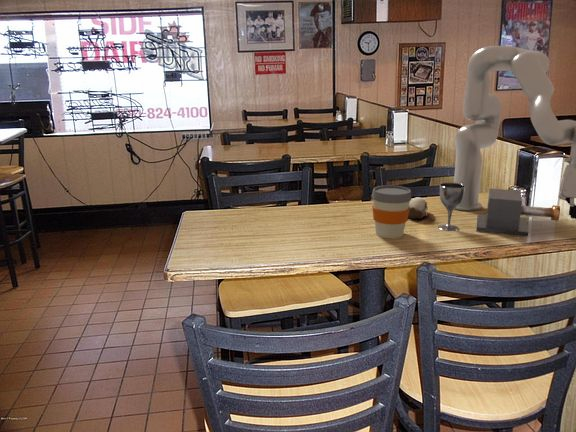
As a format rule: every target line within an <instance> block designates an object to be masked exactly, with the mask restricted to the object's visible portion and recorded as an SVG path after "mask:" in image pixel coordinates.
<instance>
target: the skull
mask: <svg viewBox="0 0 576 432" xmlns="http://www.w3.org/2000/svg"><path fill="white" fill-rule="evenodd" d="M409 207H410V209H409V214H408V219H407V221H408V220H411V221H414V222H419V223H428V222H433V220H435V219H436V216H435V215H434V214H433V213H431V212H427V211H428V208H429V207H428V202H427V200H426V199H424V198H422V197H420V196H418V197H417V196H416V197H414V198H411V200H410V202H409Z"/></svg>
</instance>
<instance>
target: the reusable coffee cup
mask: <svg viewBox="0 0 576 432" xmlns="http://www.w3.org/2000/svg"><path fill="white" fill-rule="evenodd" d="M371 199H372V207H371V209H372V218H373V220H374V227H375V229H374V230H375V235H376V236H378V237H381V238H384V239H400V238H402V237H403V236H404V231H405V227H406V223H407V222H408V220H409V219H408V214H409V209H410V207H409V203H410V201H411V200H412V191H411V189H410V188H408V187H405V186H402V185H389V184H388V185H387V184H386V185H377V186H375V187H373V189H372V193H371ZM407 219H408V220H407Z"/></svg>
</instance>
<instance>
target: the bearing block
mask: <svg viewBox="0 0 576 432" xmlns="http://www.w3.org/2000/svg"><path fill="white" fill-rule="evenodd" d="M487 199H488V200H487V207H486V208H487V209H486V214H481V213H480V214H479V213H478V214H477V215H476V216H477V217H476V228H475V229H476V230H475V232H478V233H479V232H480V233H490V234H498V235H507V236H519V237H528V238H529V232H530V231H529V228H528V224H527V223H528V222H527V219H526V218H525V217H521V208H522V206H523V198H522V192H521V190H517V189H515V190H513V189H503V188H502V189H501V188H489V190H488V198H487Z"/></svg>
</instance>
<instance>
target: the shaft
mask: <svg viewBox="0 0 576 432" xmlns="http://www.w3.org/2000/svg"><path fill="white" fill-rule="evenodd" d="M521 215H522V216H533V217H542V218H543V217H544V218H550V220H551V221H553V222H558V221H559V220H560V216H561V205H552V206H551V207H542V206H541V207H539V206H529V205H522V208H521ZM521 215H520V216H521Z"/></svg>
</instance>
